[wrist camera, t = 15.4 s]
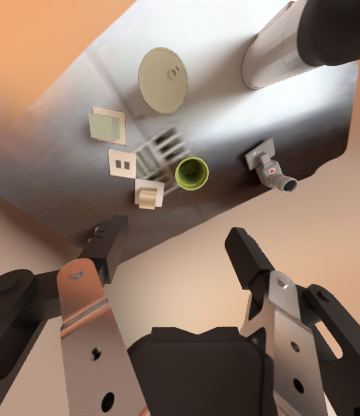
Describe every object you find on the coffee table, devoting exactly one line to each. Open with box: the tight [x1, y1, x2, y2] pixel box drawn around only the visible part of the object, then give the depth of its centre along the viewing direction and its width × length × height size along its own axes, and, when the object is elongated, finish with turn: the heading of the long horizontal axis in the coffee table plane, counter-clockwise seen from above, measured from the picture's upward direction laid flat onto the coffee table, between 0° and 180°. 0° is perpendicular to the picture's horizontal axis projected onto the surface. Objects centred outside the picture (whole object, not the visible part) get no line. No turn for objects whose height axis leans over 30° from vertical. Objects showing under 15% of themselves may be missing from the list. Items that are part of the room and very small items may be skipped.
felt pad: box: [135, 178, 165, 207], centre depth 49 cm, size 10×10×1 cm
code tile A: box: [108, 149, 136, 178], centre depth 43 cm, size 8×8×1 cm
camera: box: [245, 137, 298, 193], centre depth 42 cm, size 9×12×15 cm
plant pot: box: [175, 157, 209, 190], centre depth 41 cm, size 9×9×9 cm
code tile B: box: [92, 106, 126, 145], centre depth 38 cm, size 8×8×1 cm
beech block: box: [139, 187, 157, 209], centre depth 47 cm, size 5×5×6 cm
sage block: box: [88, 113, 120, 141], centre depth 35 cm, size 5×5×6 cm
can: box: [138, 47, 188, 116], centre depth 30 cm, size 9×9×12 cm
